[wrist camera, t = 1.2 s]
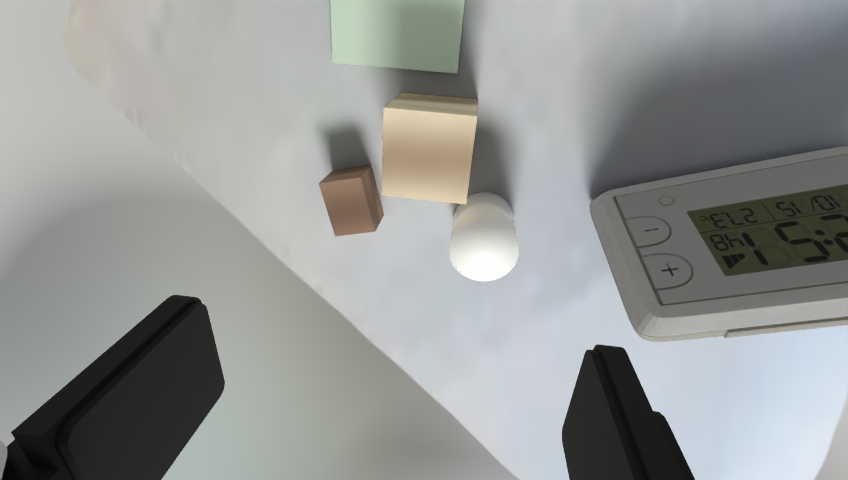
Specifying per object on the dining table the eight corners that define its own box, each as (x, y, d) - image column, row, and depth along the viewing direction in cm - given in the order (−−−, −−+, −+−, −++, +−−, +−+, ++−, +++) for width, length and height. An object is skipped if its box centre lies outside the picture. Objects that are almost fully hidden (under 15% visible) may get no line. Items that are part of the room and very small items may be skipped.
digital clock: (870, 140, 25) (1104, 206, 16) (815, 267, 29) (974, 380, 20) (592, 146, 27) (651, 208, 18) (577, 264, 31) (619, 364, 22)
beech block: (402, 92, 27) (383, 107, 22) (478, 99, 27) (477, 116, 21) (399, 165, 29) (381, 195, 24) (468, 172, 29) (466, 204, 24)
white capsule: (456, 188, 30) (452, 216, 25) (518, 195, 29) (524, 225, 25) (450, 242, 32) (446, 276, 27) (508, 249, 31) (512, 285, 27)
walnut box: (333, 170, 30) (318, 183, 28) (371, 164, 30) (360, 177, 27) (347, 219, 32) (335, 236, 29) (384, 214, 32) (374, 231, 29)
